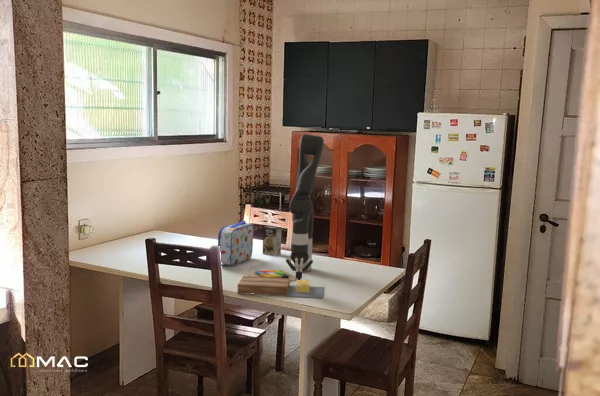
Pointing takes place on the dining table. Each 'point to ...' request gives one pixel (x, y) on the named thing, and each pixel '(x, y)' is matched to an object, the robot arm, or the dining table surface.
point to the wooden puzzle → (273, 274)
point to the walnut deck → (264, 285)
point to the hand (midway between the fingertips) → (298, 279)
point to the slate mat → (313, 293)
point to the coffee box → (272, 240)
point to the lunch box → (236, 243)
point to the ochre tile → (303, 286)
